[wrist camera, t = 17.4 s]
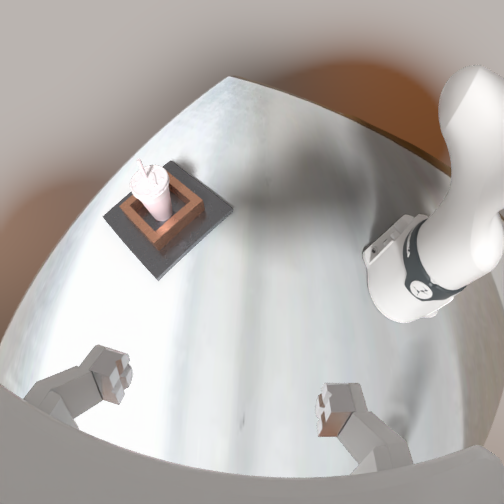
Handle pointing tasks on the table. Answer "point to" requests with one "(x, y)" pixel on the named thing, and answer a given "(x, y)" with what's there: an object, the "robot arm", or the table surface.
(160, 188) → the smoothie
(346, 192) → the table surface
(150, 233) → the mount
